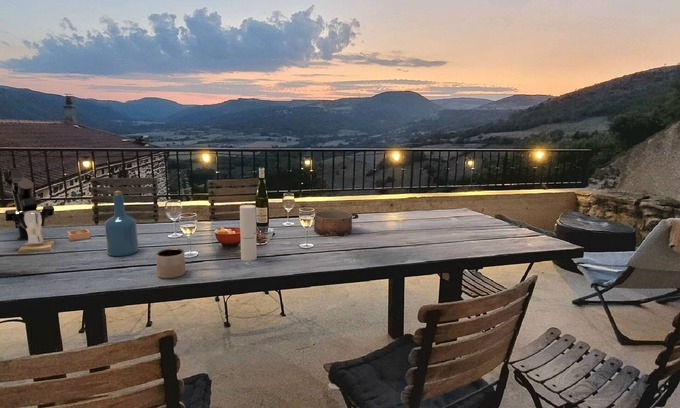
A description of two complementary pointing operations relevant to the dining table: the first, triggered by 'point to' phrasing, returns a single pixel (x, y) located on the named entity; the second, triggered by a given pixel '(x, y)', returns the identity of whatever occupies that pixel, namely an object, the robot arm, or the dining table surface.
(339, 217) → the cooking pot
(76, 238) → the terracotta dish
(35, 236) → the metal goblet
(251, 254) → the cylindrical container
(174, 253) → the planter
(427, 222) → the dining table surface
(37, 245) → the oak board
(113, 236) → the wine bottle
